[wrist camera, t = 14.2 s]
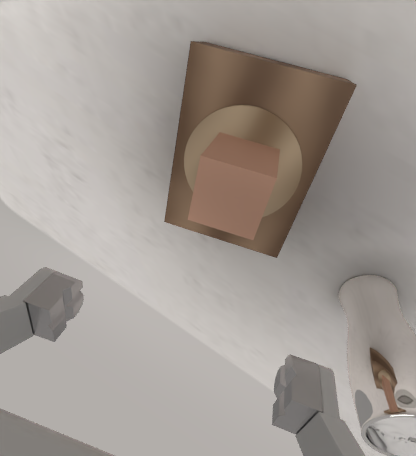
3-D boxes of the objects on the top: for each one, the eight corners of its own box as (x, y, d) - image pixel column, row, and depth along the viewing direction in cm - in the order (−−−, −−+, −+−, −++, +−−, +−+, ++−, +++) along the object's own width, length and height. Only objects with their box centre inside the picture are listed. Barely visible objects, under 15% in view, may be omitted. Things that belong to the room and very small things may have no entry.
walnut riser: (347, 79, 23) (357, 85, 19) (278, 235, 32) (276, 260, 28) (204, 41, 24) (189, 41, 20) (176, 204, 33) (163, 223, 29)
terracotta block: (280, 149, 23) (276, 178, 18) (260, 202, 26) (253, 240, 21) (219, 132, 23) (200, 155, 18) (207, 186, 26) (187, 219, 21)
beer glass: (329, 310, 36) (349, 448, 24) (340, 267, 32) (371, 404, 20) (391, 319, 34) (446, 472, 22) (410, 275, 31) (490, 429, 18)
